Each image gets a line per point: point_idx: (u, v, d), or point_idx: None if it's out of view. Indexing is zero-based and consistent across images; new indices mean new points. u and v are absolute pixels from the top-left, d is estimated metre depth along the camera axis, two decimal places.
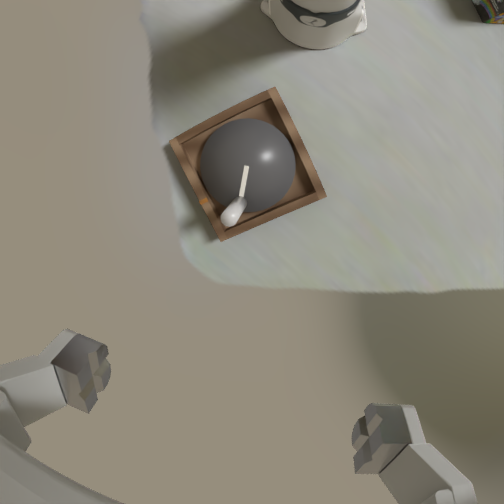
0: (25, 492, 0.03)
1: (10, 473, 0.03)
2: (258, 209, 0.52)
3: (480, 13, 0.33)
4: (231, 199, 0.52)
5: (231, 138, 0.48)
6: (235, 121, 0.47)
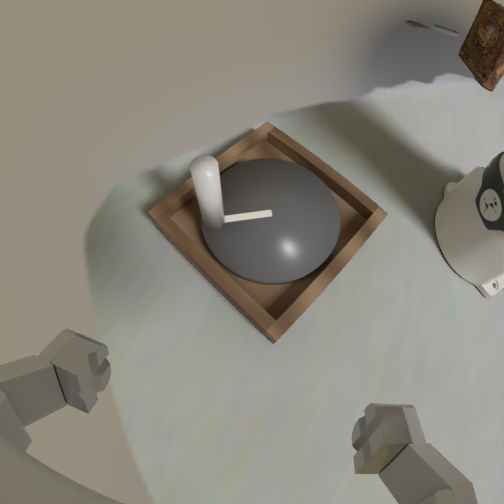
0: (25, 492, 0.03)
1: (10, 473, 0.03)
2: (213, 248, 0.33)
3: None
4: None
5: (300, 185, 0.36)
6: (323, 183, 0.37)
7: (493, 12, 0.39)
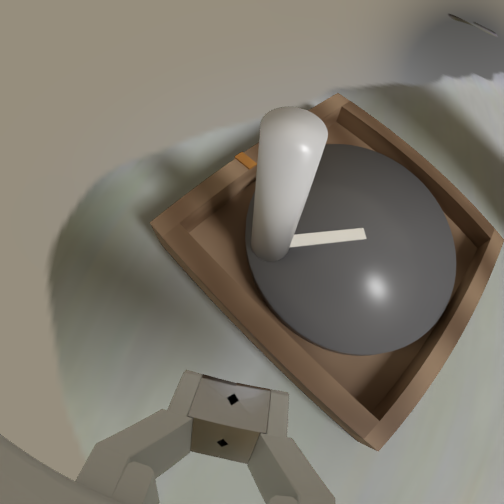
0: (25, 492, 0.03)
1: (10, 473, 0.03)
2: (270, 295, 0.18)
3: None
4: None
5: (398, 190, 0.21)
6: (426, 190, 0.22)
7: None
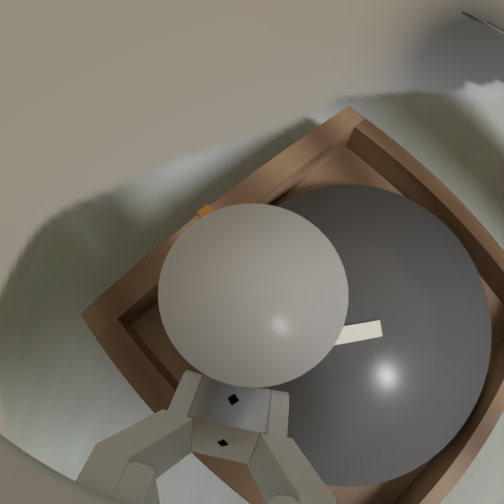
0: (25, 492, 0.03)
1: (10, 473, 0.03)
2: None
3: None
4: None
5: (430, 255, 0.15)
6: (465, 253, 0.15)
7: None
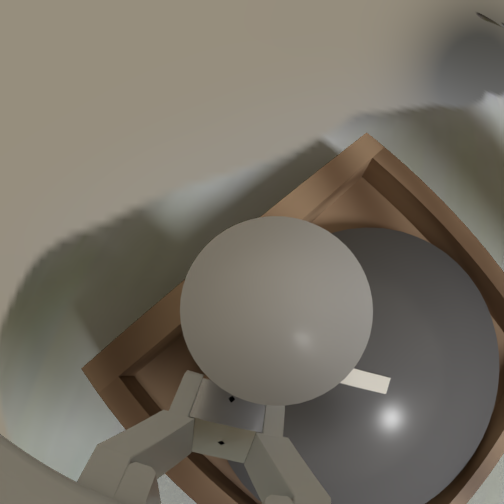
0: (25, 492, 0.03)
1: (10, 473, 0.03)
2: None
3: None
4: None
5: (463, 338, 0.13)
6: (495, 350, 0.13)
7: None
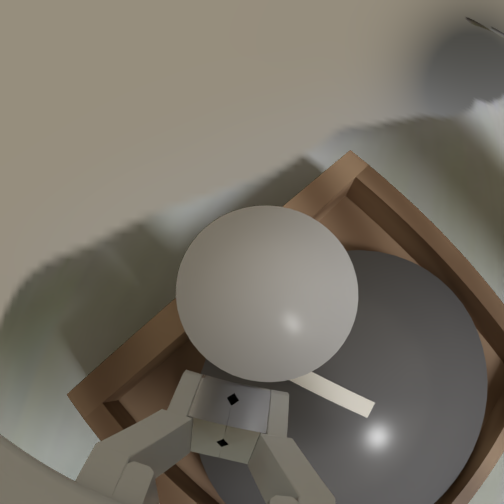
0: (25, 492, 0.03)
1: (10, 473, 0.03)
2: None
3: None
4: None
5: (454, 377, 0.13)
6: (484, 395, 0.12)
7: None
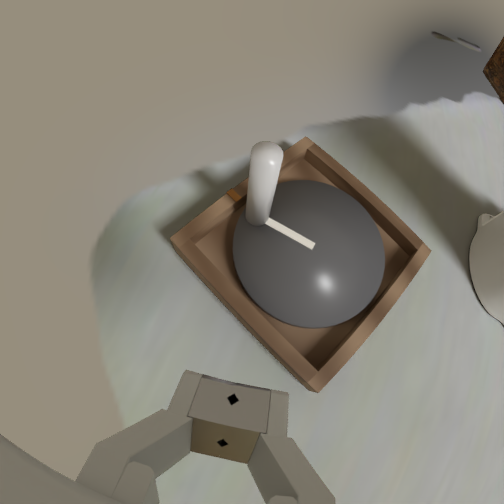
0: (25, 492, 0.03)
1: (10, 473, 0.03)
2: (236, 238, 0.30)
3: None
4: None
5: (360, 241, 0.31)
6: (382, 255, 0.31)
7: None
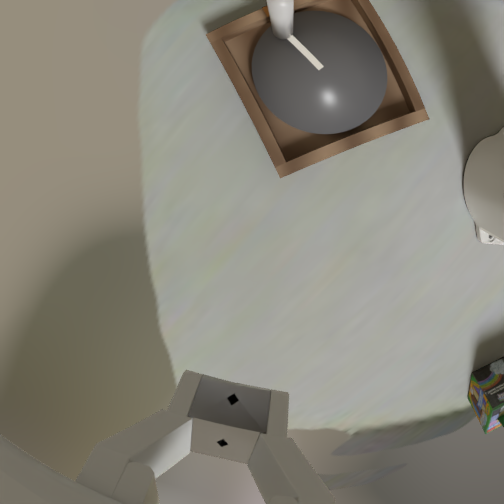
0: (25, 492, 0.03)
1: (10, 473, 0.03)
2: (259, 44, 0.30)
3: (481, 370, 0.45)
4: (294, 25, 0.28)
5: (365, 79, 0.30)
6: (380, 99, 0.30)
7: None
